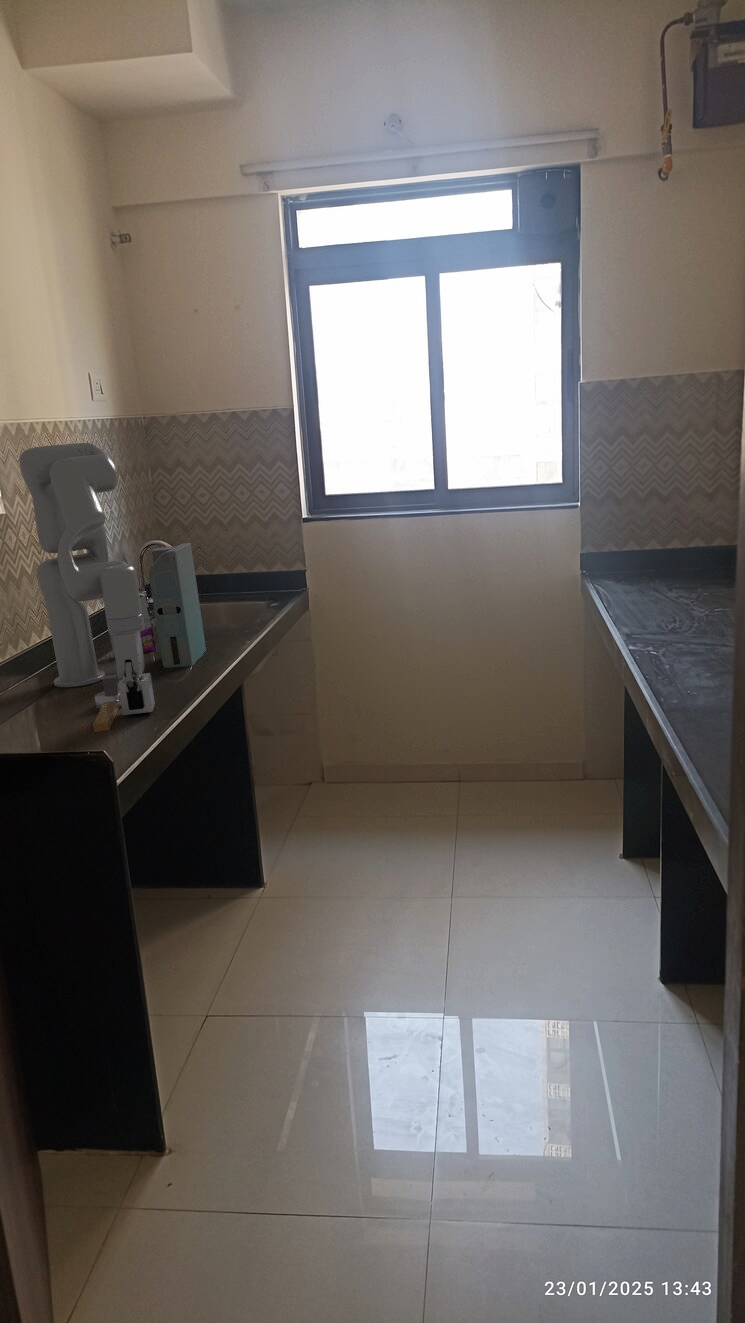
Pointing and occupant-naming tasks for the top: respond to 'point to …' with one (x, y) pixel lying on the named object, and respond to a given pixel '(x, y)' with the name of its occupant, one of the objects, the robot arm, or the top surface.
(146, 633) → the candy bar box
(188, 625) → the device
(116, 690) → the hammer
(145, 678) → the white block
